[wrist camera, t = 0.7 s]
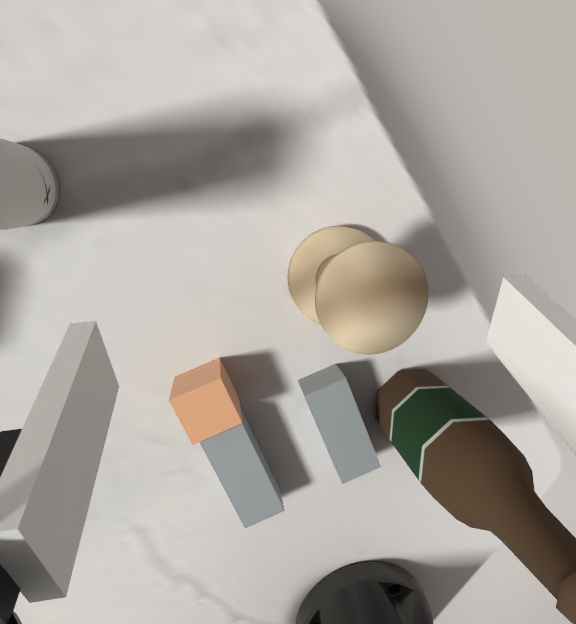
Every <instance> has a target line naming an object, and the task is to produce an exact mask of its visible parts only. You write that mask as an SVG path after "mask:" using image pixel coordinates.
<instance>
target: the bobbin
mask: <svg viewBox="0 0 576 624" xmlns="http://www.w3.org/2000/svg"><path fill="white" fill-rule="evenodd" d="M288 285H289V290H290V293H291V296H292V298H293V300H294V302H295V303H296V305H297V306H298V308H299V309H300V310H301V311H302V312H303V313H304V314H305V315H306V316H307V317H308V318H309V319H311V320H313V321H314V322H316V323H319V324H321V326H322V327H323V329H324V330H325V332H326V333H327V334H328V335H329V336H330V337H331V339H332V340H333V341H334V342H336V343H337V344H338V345H339V346H341V347H343V348H344V349H346V350H349V351H351V352H354V353H358V354H370V355H371V354H379V353H383V352H386V351H389V350H392V349H394V348H396V347H397V346H399V345H401V344H402V343H403V342H405V341H406V340H407V339H408V338H409V337H410V336H411V335H412V334H413V333H414V332H415V330H416V329H417V328H418V326H419V325H420V323H421V321H422V319H423V317H424V314H425V311H426V307H427V302H428V285H427V281H426V277H425V274H424V272H423V270H422V268H421V266H420V264H419V263H418V262H417V260H416V259H415V258H414V257H413V256H412V255H411V254H409V253H408V252H407V251H405V250H404V249H402V248H400V247H398V246H395V245H392V244H389V243H385V242H380V241H374V240H373V239H372V238H371V237H370V236H369V235H367V234H366V233H364V232H362V231H360V230H357V229H354V228H349V227H344V226H332V227H327V228H323V229H321V230H318V231H316V232H314V233H313V234H311V235H310V236H308V237H307V238H306V239H305V240H304V241H302V243H301V244H300V245H299V246H298V248H297V249H296V251H295V252H294V254H293V256H292V258H291V261H290V264H289V269H288Z"/></svg>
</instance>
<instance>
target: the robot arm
mask: <svg viewBox="0 0 576 624" xmlns="http://www.w3.org/2000/svg"><path fill="white" fill-rule="evenodd" d="M486 343H487V344H488V346H489V347H490V348H491V349H492V351H493V352H494V353H495V354H496V356H497V357H498V358H499V359H500V361H501V362H502V363H503V365H504V366H505V367H506V368H507V370H508V371H509V372H510V373H511V375H512V376H513V377H514V378H515V380H516V381H517V382H518V383H519V385H520V386H521V387H522V388H523V390H524V391H525V392H526V393H527V395H528V396H529V397H530V398H531V400H532V401H533V402H534V403H535V405H536V406H537V407H538V408H539V410H540V411H541V412H542V414H543V415H544V416H545V417H546V418H547V420H548V421H549V422H550V424H551V425H552V426H553V427H554V429H555V430H556V431H557V432H558V433H559V435H560V436H561V437H562V439H563V440H564V441H565V442H566V444H567V445H568V446H569V447H570V449H571V450H572V451H573V452H574V454H575V455H576V319H575V318H574V317H573V316H572V315H570V314H569V313H568V312H567V311H566V310H565V309H564V308H563V307H561V306H560V305H559V304H558V303H557V302H556V301H555V300H553V299H552V298H551V297H550V296H549V295H548V294H547V293H545V292H544V291H543V290H542V289H541V288H540V287H538V286H537V285H536V284H535V283H534V282H533V281H532V280H531V279H530V278H528V277H527V276H526V275H520V276H511V277H503V281H502V285H501V288H500V292H499V296H498V299H497V304H496V307H495V310H494V314H493V318H492V322H491V325H490V329H489V333H488V336H487V340H486ZM118 388H119V385H118V382H117V379H116V377H115V374H114V371H113V368H112V365H111V363H110V360H109V357H108V354H107V351H106V348H105V346H104V343H103V340H102V337H101V334H100V331H99V329H98V326H97V323H96V321H92V322H82V323H73V324H70V325H69V327H68V329H67V331H66V334H65V336H64V338H63V340H62V343H61V345H60V347H59V349H58V351H57V354H56V356H55V358H54V360H53V362H52V365H51V367H50V369H49V371H48V373H47V376H46V378H45V380H44V382H43V384H42V387H41V389H40V391H39V393H38V395H37V398H36V400H35V402H34V404H33V406H32V409H31V411H30V413H29V415H28V417H27V420H26V422H25V424H24V426H23V428H22V429H17V430H9V431H1V432H0V624H22V623H21V621H20V619H19V617H18V616H17V614H16V613H15V612H14V611H13V610H14V607H15V604H16V601H17V598H18V595H19V592H21V593H22V594H23V595H24V596H25V598H26V599H27V600H28V601H29V603H31V602H38V601H44V600H50V599H57V598H63V597H66V595H67V591H68V587H69V583H70V579H71V575H72V571H73V567H74V563H75V559H76V555H77V551H78V547H79V543H80V539H81V535H82V531H83V527H84V523H85V519H86V515H87V511H88V507H89V503H90V499H91V495H92V491H93V487H94V483H95V479H96V475H97V472H98V468H99V464H100V460H101V456H102V452H103V448H104V444H105V440H106V436H107V432H108V428H109V424H110V420H111V416H112V412H113V408H114V404H115V400H116V396H117V392H118ZM296 624H433V620H432V614H431V610H430V607H429V604H428V602H427V599H426V597H425V596H424V594H423V592H422V590H421V588H420V586H419V584H418V583H417V581H416V580H415V579H414V577H413V576H412V575H410V574H409V573H408V572H407V571H405V570H404V569H402V568H400V567H398V566H395V565H392V564H388V563H383V562H363V563H358V564H353V565H350V566H347V567H344V568H342V569H339V570H337V571H335V572H333V573H332V574H330V575H328V576H327V577H325V578H324V579H323V580H321V581H320V582H319V583H318V584H317V585H316V586H315V587H314V588H313V589H312V590H311V591H310V592H309V594H308V595H307V596H306V598H305V599H304V601H303V603H302V605H301V607H300V609H299V612H298V615H297V620H296Z"/></svg>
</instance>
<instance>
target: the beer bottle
mask: <svg viewBox="0 0 576 624" xmlns="http://www.w3.org/2000/svg"><path fill="white" fill-rule="evenodd" d="M375 419H376V420H377V422H378V424H379V425H380V427H381V429H382V430H383V431H384V433H385V434H386V436H387V437H388V438H389V440H390V441H391V442H392V444H393V445H394V447H395V448H396V449H397V451H398V452H399V454H400V455H401V456H402V458H403V459H404V461H405V462H406V463H407V465H408V466H409V467H410V469H411V470H412V472H413V473H414V474H415V476H416V477H417V479H418V480H419V481H420V483H421V484H422V485H423V486H424V487H425V489H426V490H427V491H428V492H429V493H430V494H431V495H432V496H433V498H434V499H436V500H437V501H438V502H439V503H440V504H441V505H442V506H443V507H444V508H445V509H446V510H447V511H448V512H449V513H450V514H451V515H452V516H454V517H455V518H456V519H457V520H459V521H461V522H462V523H464V524H466V525H468V526H469V527H472V528H477V529H482V530H488V531H491V532H492V533H493V534H494V535H495V536H497V537H498V538H499V539H500V540H501V541H502V542H503V543H504V544H505V545H506V546H507V547H508V548H509V549H510V550H511V551H512V552H513V553H514V554H515V556H516V557H518V559H519V560H520V561H521V562H522V563H523V564H524V565H525V566H526V567H527V568H528V569H529V570H530V571H531V573H533V575H534V576H535V577H536V578H537V579H538V580H539V581H540V582H541V583H542V584H543V585H544V586H545V587H546V588H547V589H548V591H549V592H550V593H551V594H552V595H553V596H554V597H555V598H556V599H557V605H556V608H557V609H558V610H559V611H560V612H561V613H562V614H563V615H564V616H565V617H566V618H567V619H568V620H569V621H570V622H572V623H573V624H576V538H575V537H574V536H573V535H572V534H571V533H570V532H569V531H568V530H567V529H566V528H565V527H564V526H563V525H562V523H561V522H560V521H559V520H558V519H557V518H556V517H555V516H554V515H553V514H552V513H551V512H550V511H549V510H548V509H547V508H546V506H545V505H544V504H543V502H542V501H541V500H540V498H539V497H538V496H537V494H536V493H535V492H534V484H533V474H532V470H531V468H530V466H529V464H528V462H527V460H526V458H525V456H524V455H523V454H522V453H521V452H520V451H519V450H518V449H517V447H516V446H515V445H514V444H513V443H512V442H511V441H510V440H509V439H508V438H507V437H506V435H505V434H504V433H503V432H502V431H501V430H500V429H499V428H498V427H497V426H496V425H495V424H494V423H493V422H492V421H491V420H489V419H488V418H487V417H486V416H484V415H483V414H482V413H481V412H480V411H478V410H477V409H476V408H475V407H473V406H472V405H471V404H470V403H468V402H467V401H466V400H465V399H463V398H462V397H461V396H460V395H458V394H457V393H456V392H455V391H454V390H452V389H451V388H450V387H449V386H447V385H446V384H445V383H444V382H442V381H441V380H440V379H439V378H437V377H436V376H435V375H433V374H432V373H430V372H429V371H427V370H418V371H398V372H397V373H396V374H395V375H394V376H393V377H391V378H390V379H389V380H388V381H387V382H386V383H385V384H384V385H383V386H382V387H381V388H380V389H379V390H378V391H377V404H376V417H375Z"/></svg>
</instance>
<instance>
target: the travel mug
mask: <svg viewBox="0 0 576 624" xmlns="http://www.w3.org/2000/svg"><path fill="white" fill-rule="evenodd" d="M59 189H60V188H59V182H58V178H57V175H56V173H55V171H54V169H53V167H52V166H51V164H50V163H49V162H48V161H47V160H46V158H45V157H43V156H42V155H41V154H40V153H39V152H37V151H35V150H33V149H32V148H30V147H27V146H24V145H21V144H18V143H14V142H11V141H7V140H4V139H0V230H3V229H10V228H17V227H24V226H30V225H34V224H37V223H39V222H41V221H43V220H45V219H46V218H47V217H48V216H49V215H50V214H51V213H52V212H53V211H54V209H55V207H56V205H57V203H58V199H59Z"/></svg>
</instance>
